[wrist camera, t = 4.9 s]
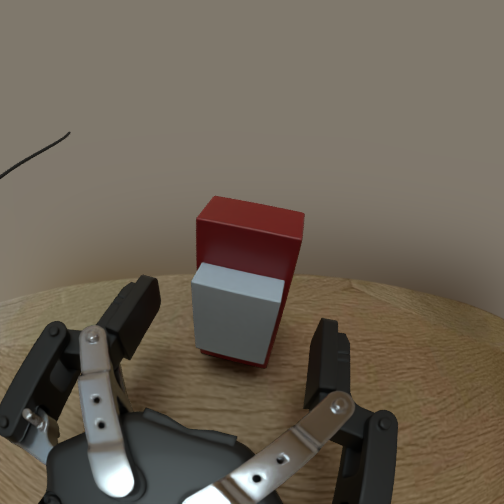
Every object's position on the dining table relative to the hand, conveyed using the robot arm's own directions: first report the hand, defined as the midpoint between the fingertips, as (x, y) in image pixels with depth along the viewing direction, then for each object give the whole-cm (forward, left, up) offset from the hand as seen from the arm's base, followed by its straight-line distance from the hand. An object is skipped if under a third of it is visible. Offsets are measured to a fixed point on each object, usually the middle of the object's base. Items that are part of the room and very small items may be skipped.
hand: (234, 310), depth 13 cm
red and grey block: (-1, +1, -6) cm, 6 cm away
